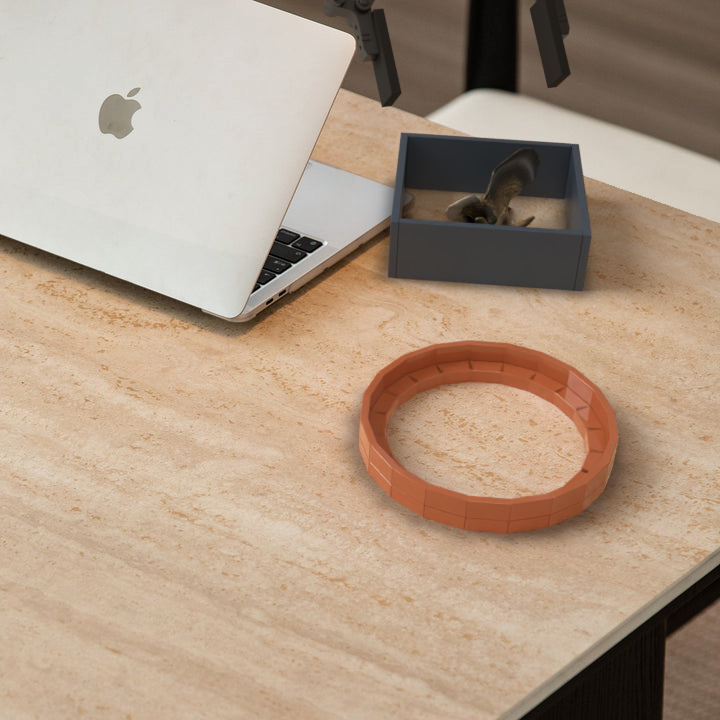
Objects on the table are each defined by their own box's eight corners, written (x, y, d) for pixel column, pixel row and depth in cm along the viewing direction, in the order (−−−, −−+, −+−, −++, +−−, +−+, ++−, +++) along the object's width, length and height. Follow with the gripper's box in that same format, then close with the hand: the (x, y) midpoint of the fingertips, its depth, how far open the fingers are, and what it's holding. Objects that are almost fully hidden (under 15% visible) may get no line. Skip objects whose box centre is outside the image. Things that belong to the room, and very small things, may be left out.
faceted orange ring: (599, 386, 82) (606, 349, 81) (620, 552, 70) (629, 513, 68) (368, 368, 83) (370, 332, 81) (349, 530, 71) (350, 492, 69)
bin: (569, 204, 102) (579, 143, 99) (581, 300, 91) (591, 235, 87) (397, 192, 103) (400, 132, 99) (387, 286, 91) (390, 221, 88)
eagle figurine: (559, 255, 92) (559, 179, 98) (514, 188, 88) (518, 113, 94) (468, 288, 96) (475, 212, 102) (422, 225, 92) (431, 150, 98)
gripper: (546, -154, 102) (603, 91, 100) (252, -137, 95) (306, 126, 93) (585, -208, 95) (647, 54, 93) (270, -195, 88) (329, 89, 86)
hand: (477, 91), depth 93 cm, fingers open, 13 cm apart
